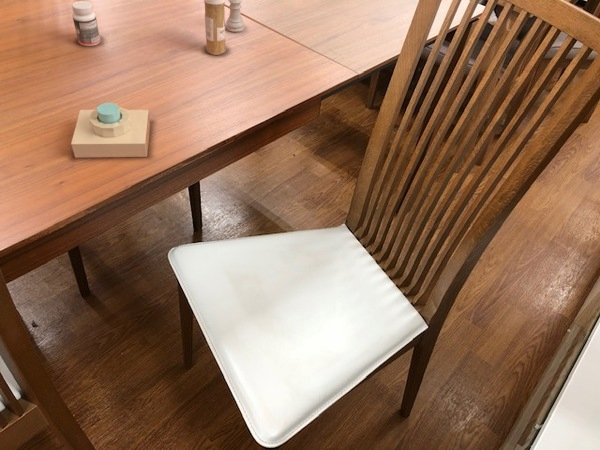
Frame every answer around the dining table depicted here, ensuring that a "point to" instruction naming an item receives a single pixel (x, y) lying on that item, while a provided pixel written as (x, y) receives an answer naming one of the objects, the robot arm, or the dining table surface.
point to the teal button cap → (108, 113)
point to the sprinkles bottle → (215, 26)
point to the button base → (111, 135)
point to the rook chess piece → (235, 17)
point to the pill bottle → (85, 23)
